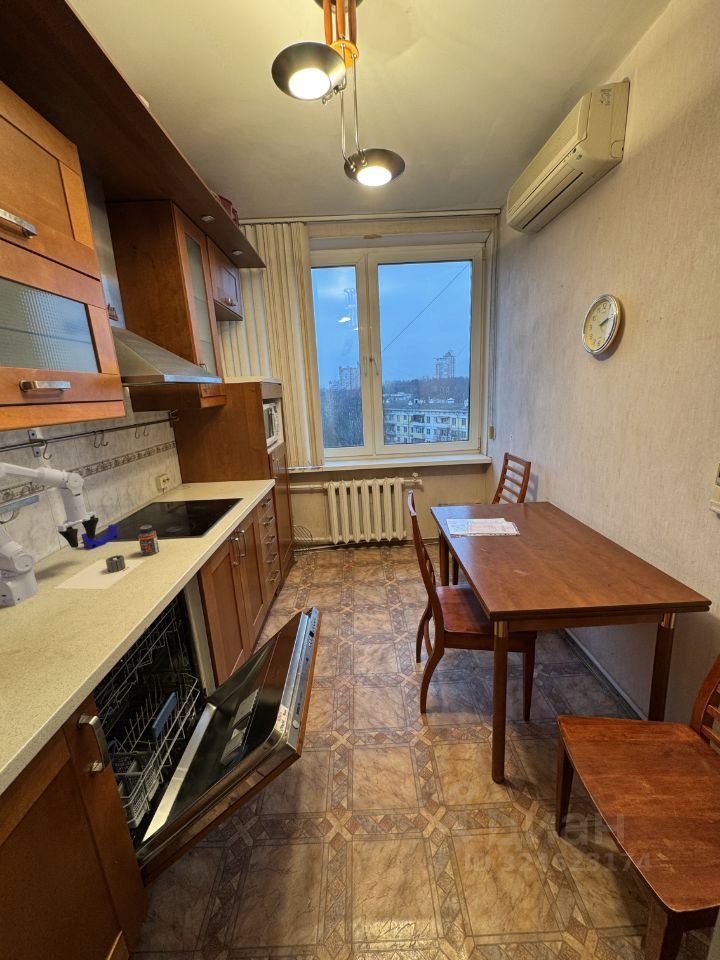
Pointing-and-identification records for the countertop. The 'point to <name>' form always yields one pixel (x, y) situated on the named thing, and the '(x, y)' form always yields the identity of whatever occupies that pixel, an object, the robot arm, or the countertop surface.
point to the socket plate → (97, 576)
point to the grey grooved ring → (115, 564)
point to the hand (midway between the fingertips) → (83, 542)
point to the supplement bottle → (148, 541)
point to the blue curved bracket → (108, 537)
